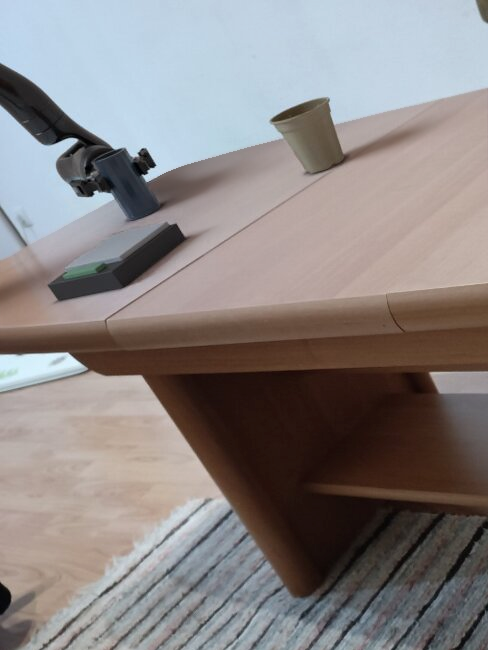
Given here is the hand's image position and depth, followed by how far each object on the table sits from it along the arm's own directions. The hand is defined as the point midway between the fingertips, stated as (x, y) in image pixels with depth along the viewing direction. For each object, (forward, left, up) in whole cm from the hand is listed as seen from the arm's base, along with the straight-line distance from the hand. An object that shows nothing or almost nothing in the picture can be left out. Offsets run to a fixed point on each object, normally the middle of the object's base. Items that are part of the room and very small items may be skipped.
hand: (124, 176), depth 139 cm
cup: (-2, +1, -7) cm, 7 cm away
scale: (+15, -24, -7) cm, 29 cm away
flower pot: (+34, +3, -7) cm, 35 cm away
